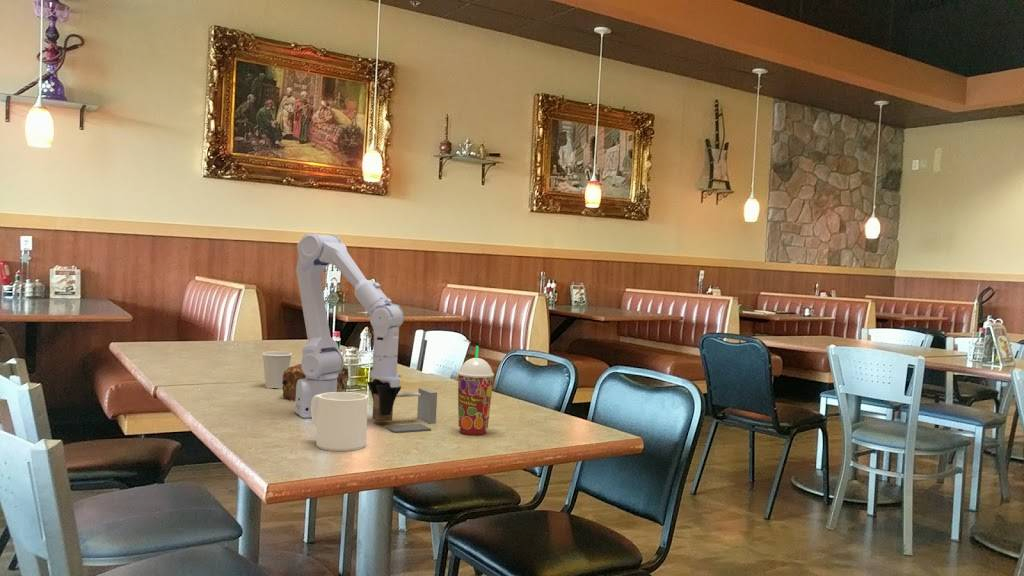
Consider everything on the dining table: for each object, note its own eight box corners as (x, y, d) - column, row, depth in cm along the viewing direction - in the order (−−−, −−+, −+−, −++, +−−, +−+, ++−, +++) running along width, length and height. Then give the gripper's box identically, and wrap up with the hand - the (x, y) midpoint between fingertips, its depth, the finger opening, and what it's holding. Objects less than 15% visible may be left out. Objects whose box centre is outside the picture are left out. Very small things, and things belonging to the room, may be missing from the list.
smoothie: (448, 433, 177) (453, 345, 176) (463, 426, 184) (467, 343, 184) (482, 438, 174) (487, 349, 173) (496, 431, 182) (500, 346, 181)
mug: (375, 444, 163) (377, 395, 163) (347, 454, 154) (349, 402, 153) (325, 436, 168) (327, 388, 167) (295, 445, 159) (297, 395, 158)
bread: (317, 390, 225) (318, 355, 225) (349, 393, 222) (351, 359, 222) (279, 399, 207) (281, 362, 207) (314, 403, 204) (316, 366, 204)
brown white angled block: (377, 421, 181) (378, 396, 181) (372, 418, 184) (373, 393, 184) (420, 419, 187) (421, 394, 186) (414, 416, 190) (415, 391, 190)
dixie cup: (254, 386, 225) (256, 352, 224) (280, 384, 231) (281, 350, 231) (271, 390, 219) (272, 355, 219) (296, 388, 226) (298, 353, 225)
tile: (428, 423, 186) (430, 392, 186) (417, 418, 192) (418, 388, 192) (436, 423, 187) (437, 392, 187) (424, 417, 193) (425, 387, 193)
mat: (394, 433, 174) (394, 431, 174) (384, 427, 179) (384, 425, 179) (431, 430, 179) (431, 428, 179) (420, 425, 184) (420, 423, 184)
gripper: (413, 359, 179) (410, 418, 179) (390, 351, 192) (387, 406, 192) (384, 360, 175) (381, 419, 176) (362, 352, 188) (360, 408, 188)
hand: (382, 413), depth 184 cm, fingers closed on brown white angled block, 4 cm apart
